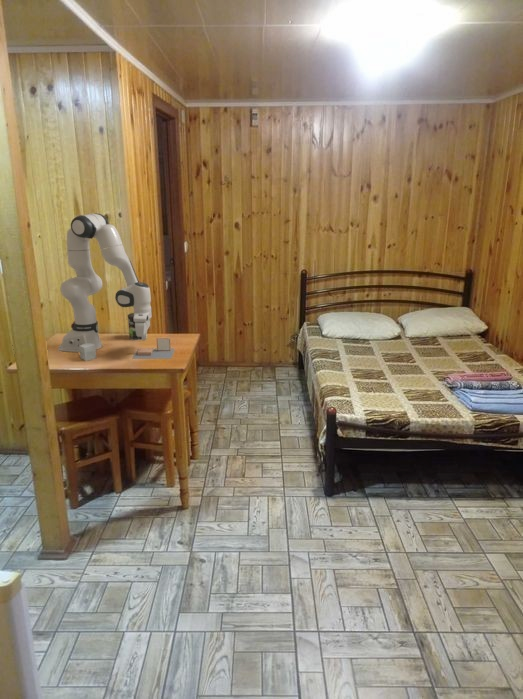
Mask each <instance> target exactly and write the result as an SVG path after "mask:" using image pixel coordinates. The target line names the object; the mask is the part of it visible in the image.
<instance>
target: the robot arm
mask: <svg viewBox="0 0 523 699" xmlns="http://www.w3.org/2000/svg"><path fill="white" fill-rule="evenodd" d="M107 218H108V217H106V216H105V215H104V214H101V213H97V212H96V213H87V214H83V215H82V214H81V215H78V216H75V217H74V218H73V219H72V220H71V222H70V228H69V229H68V230H67V232H66V251H67V252H66V254H67V262H68V265H69V267H70V268H72V269H73V270H74V271H75V274H76V276H75V277H71V278H68V279H66V280H65V281H63V282H62V283H61V284H60V289H59V290H60V293H61V295H62V297H63V298H65V299H66V300H67V301H68V302H69V303H70V306H71V307H72V310H73V317H74V321H73V322H72V323H71V326H70V328H71V329H70V330H69V331H68V332H67V333H66V334H65V335H64V336H63V337H62V341H61V344H60V345H59V346H58V348H57V350H58V352H69V353H70V352H71V353H80V350H79V345H81V344H85V343H91V344H93V345H95V351H96V350H98V349H101V348H102V347H103V343H102V341H101V338H100V334H99V323H98V320H97V311H96V307H95V306H94V304H91V302H90V301H89V296H93V295H95V294H96V293H98V292H100V291H102V289H103V286H104V285H103V280H102V278H101V277H100V276H99V275H98V274H97V273H96V272H95V270H94V267H93V264H92V259H91V258H92V257H91V251H90V249H91V248H90V239H92V240H93V238H94V239H96V241H97V243H98V246H99V248H100V252H101V255H102V257H103V259H104V261H105V262H106V263H107V264H108V265H111V266H115V267H117V268H118V269H119V270H120V271H121V272H122V274H123V275H122V276H123V278H124V280H125V282H126V287H123V288H121V289H119V290H117V292H115V297H114V298H115V302H116V304H117V305H118V306H120V307H121V308H130V307H131V308H132V307H133V313H134V318H133V320H134V322H135V330H136V335H137V337H142V340H141V341H145V340H147V339H146V333H147V334H148V329H149V328H150V327H151V319H152V317H153V316H152V306H151V303H152V297H151V296H152V294H151V289H150V286H149V285H148V284H147V283H145V282H141V281H139V278H138V276H137V273H136V270H135V268H134V266H133V263H132V261H131V260H130V258H129V256H128V255H127V252H126V251H125V247H124V245H123V241H122V238H121V236H120V233H119V232H118V229H117V228H116V226H115V225H113V224H110V223H109V220H108V219H107Z"/></svg>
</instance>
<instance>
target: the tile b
mask: <svg viewBox="0 0 523 699" xmlns="http://www.w3.org/2000/svg"><path fill="white" fill-rule="evenodd" d="M171 344H172V342H171V337H156V349H157V351H171V349H172V346H171Z"/></svg>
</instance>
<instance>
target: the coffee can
mask: <svg viewBox="0 0 523 699" xmlns="http://www.w3.org/2000/svg"><path fill="white" fill-rule="evenodd" d="M133 318H134V312H131V313H128V314H127V320H128V322H127V323H128V335H129V340H132V341H142V337H137V335H136V330H135V322H134V320H133ZM146 338H147V339H148V332H147V333H146Z"/></svg>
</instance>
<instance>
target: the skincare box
mask: <svg viewBox="0 0 523 699" xmlns="http://www.w3.org/2000/svg"><path fill="white" fill-rule="evenodd" d="M79 350H80V352H79V357H80V359H81V360H83V361H85V362H86V361H87V362H88V361H92V360H95V359H97V352H96V350H95V345H93V344H91V343H85V344H81V345H79Z"/></svg>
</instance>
